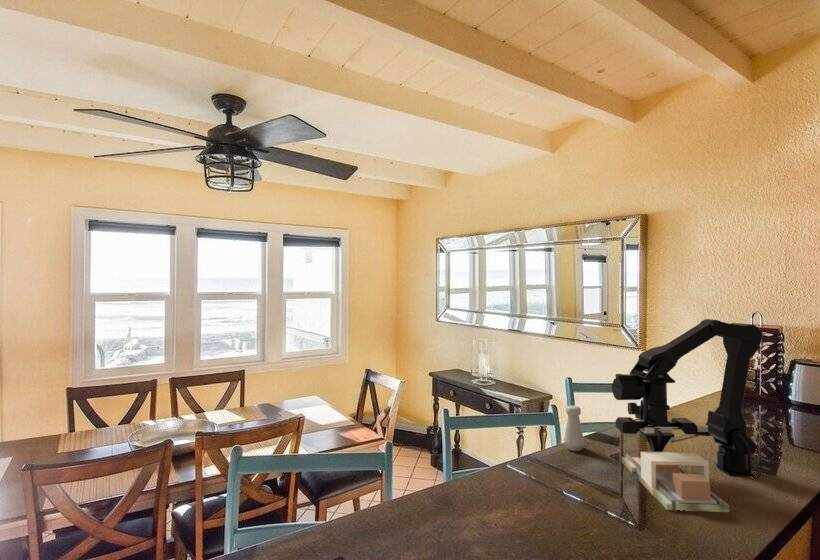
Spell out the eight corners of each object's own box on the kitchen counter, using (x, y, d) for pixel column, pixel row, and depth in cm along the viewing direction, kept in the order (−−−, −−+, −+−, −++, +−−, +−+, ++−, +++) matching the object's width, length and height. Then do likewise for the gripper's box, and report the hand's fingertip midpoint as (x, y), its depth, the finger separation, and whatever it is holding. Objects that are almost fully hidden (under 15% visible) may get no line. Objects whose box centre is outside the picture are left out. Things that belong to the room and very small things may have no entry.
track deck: (670, 463, 122) (670, 455, 122) (729, 512, 96) (729, 501, 96) (621, 462, 124) (621, 454, 124) (666, 510, 97) (666, 499, 97)
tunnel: (695, 478, 110) (694, 452, 110) (709, 489, 104) (708, 462, 104) (641, 477, 111) (640, 451, 111) (651, 487, 105) (651, 461, 105)
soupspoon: (718, 436, 147) (698, 432, 153) (718, 426, 147) (698, 422, 153) (678, 445, 137) (658, 440, 143) (677, 434, 137) (657, 429, 143)
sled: (676, 470, 114) (676, 452, 114) (716, 503, 96) (716, 481, 97) (644, 469, 115) (644, 451, 115) (678, 502, 97) (677, 480, 97)
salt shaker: (585, 452, 131) (584, 409, 132) (565, 451, 133) (564, 408, 133) (582, 445, 137) (581, 404, 137) (563, 444, 138) (562, 403, 138)
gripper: (676, 392, 124) (677, 447, 124) (607, 391, 126) (609, 446, 126) (698, 402, 113) (699, 463, 113) (622, 401, 115) (624, 461, 115)
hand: (656, 457), depth 117 cm, fingers closed
